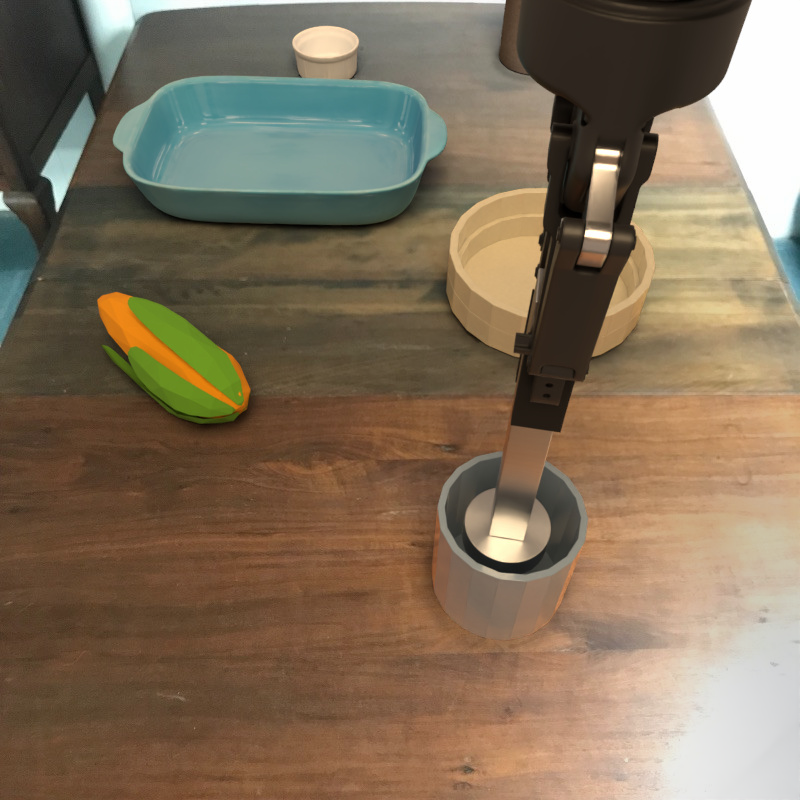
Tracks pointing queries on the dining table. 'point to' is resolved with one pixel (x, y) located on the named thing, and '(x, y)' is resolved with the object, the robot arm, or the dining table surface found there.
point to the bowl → (525, 272)
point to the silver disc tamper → (512, 498)
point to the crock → (494, 591)
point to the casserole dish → (280, 149)
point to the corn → (174, 360)
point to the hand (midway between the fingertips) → (537, 401)
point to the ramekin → (326, 52)
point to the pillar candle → (510, 37)
